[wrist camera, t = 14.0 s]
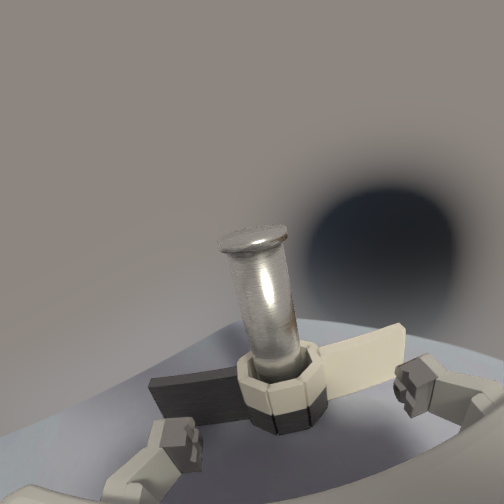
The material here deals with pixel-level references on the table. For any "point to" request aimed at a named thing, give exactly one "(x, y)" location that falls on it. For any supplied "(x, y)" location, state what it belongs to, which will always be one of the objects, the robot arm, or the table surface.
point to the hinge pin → (265, 300)
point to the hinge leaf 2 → (326, 371)
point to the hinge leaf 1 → (225, 402)
